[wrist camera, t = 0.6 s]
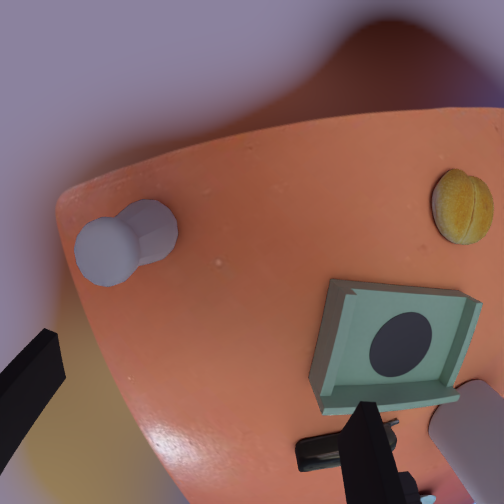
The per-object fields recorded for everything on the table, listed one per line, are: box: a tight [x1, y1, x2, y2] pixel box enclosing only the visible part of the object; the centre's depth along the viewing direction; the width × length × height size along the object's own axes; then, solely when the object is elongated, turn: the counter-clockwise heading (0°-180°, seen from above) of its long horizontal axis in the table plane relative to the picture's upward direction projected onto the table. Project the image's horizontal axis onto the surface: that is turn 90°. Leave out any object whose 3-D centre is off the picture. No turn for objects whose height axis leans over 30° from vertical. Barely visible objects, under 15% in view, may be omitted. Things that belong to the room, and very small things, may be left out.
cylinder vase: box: [429, 380, 504, 504], centre depth 25 cm, size 12×12×25 cm
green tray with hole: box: [308, 279, 483, 415], centre depth 29 cm, size 12×18×7 cm, turn 83°
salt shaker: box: [74, 199, 178, 287], centre depth 23 cm, size 6×6×13 cm
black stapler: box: [295, 420, 399, 472], centre depth 33 cm, size 5×3×15 cm
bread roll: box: [432, 169, 494, 245], centre depth 28 cm, size 8×9×4 cm
